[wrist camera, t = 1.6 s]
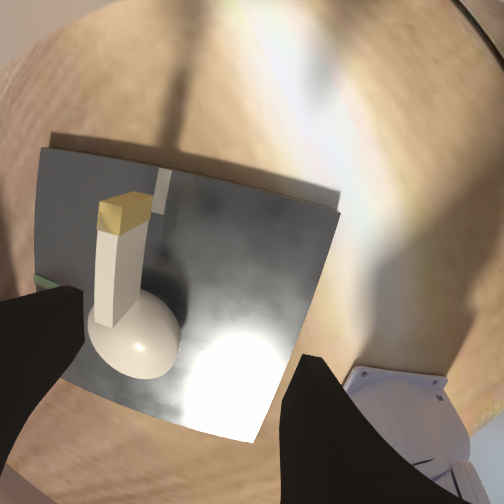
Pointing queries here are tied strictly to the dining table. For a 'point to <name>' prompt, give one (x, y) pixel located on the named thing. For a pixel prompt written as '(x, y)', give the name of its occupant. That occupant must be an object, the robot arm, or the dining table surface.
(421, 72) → the dining table surface
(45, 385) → the robot arm
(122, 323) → the white ball on stick
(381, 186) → the dining table surface
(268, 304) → the plate
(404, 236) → the dining table surface
